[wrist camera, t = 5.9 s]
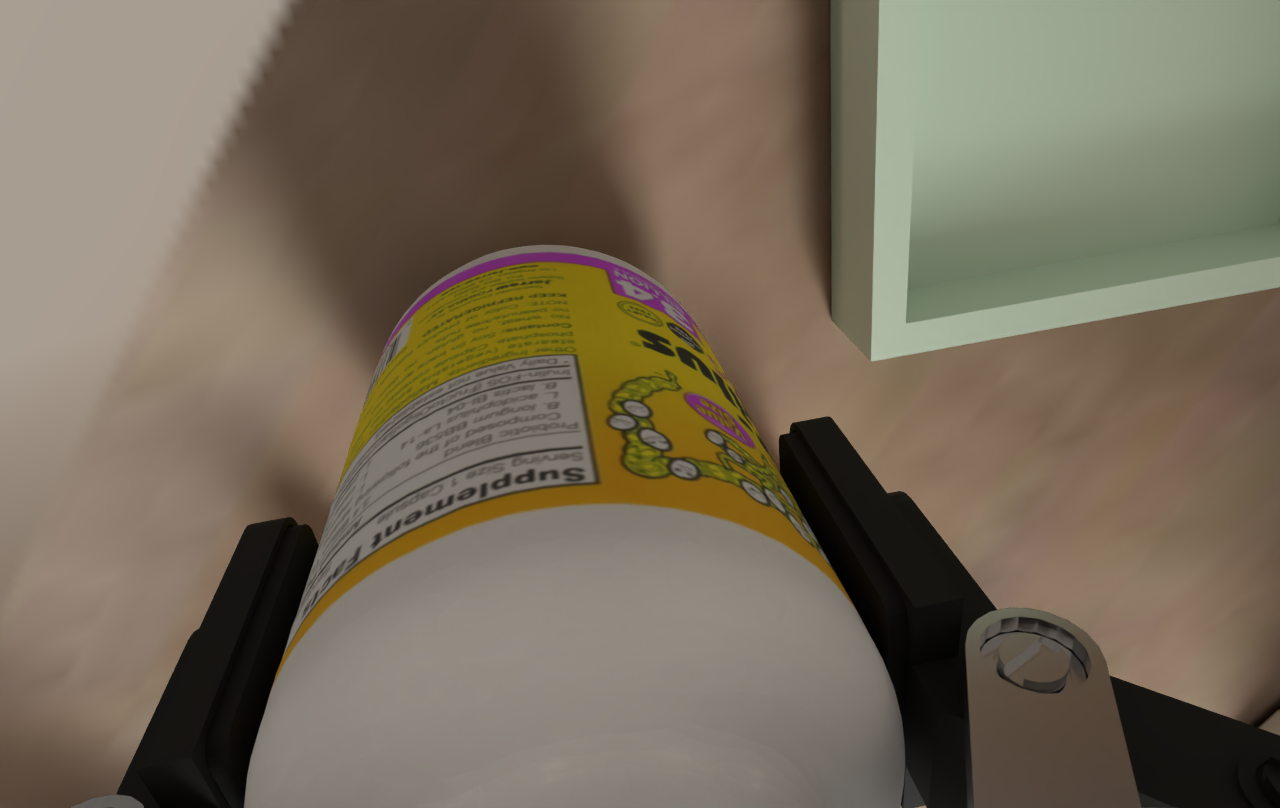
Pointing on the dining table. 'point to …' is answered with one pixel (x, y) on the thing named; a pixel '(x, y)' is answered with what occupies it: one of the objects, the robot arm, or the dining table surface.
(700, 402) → the supplement bottle
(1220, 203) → the tray
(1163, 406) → the dining table surface
